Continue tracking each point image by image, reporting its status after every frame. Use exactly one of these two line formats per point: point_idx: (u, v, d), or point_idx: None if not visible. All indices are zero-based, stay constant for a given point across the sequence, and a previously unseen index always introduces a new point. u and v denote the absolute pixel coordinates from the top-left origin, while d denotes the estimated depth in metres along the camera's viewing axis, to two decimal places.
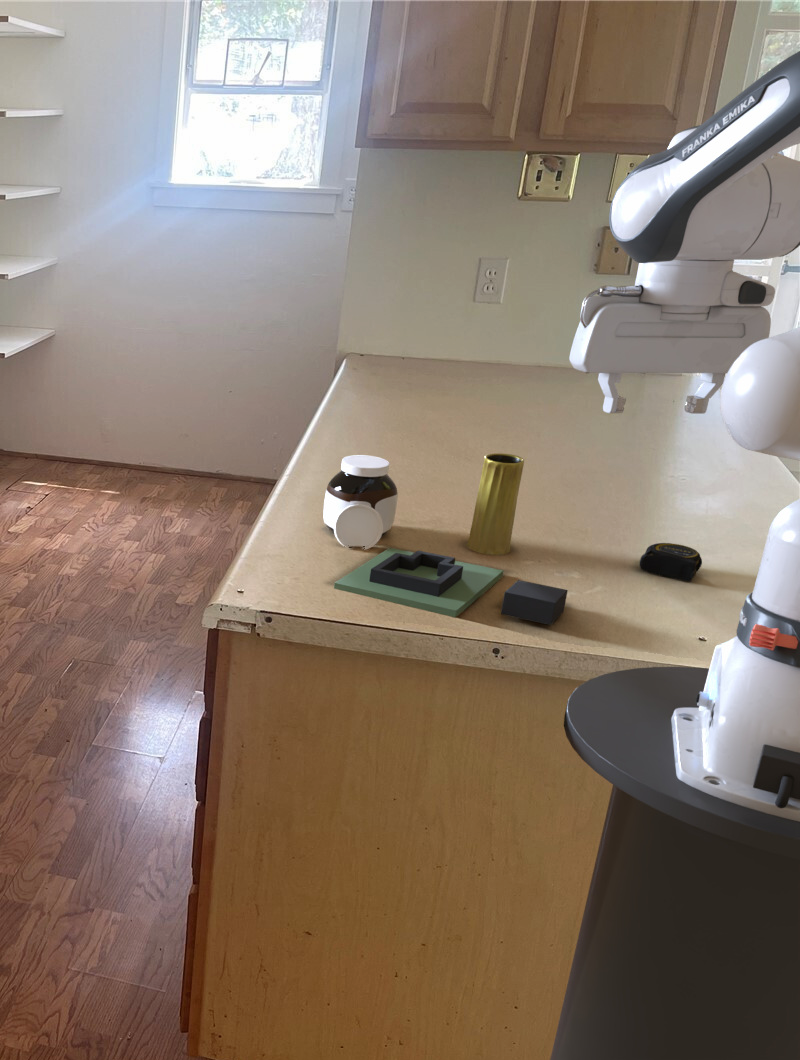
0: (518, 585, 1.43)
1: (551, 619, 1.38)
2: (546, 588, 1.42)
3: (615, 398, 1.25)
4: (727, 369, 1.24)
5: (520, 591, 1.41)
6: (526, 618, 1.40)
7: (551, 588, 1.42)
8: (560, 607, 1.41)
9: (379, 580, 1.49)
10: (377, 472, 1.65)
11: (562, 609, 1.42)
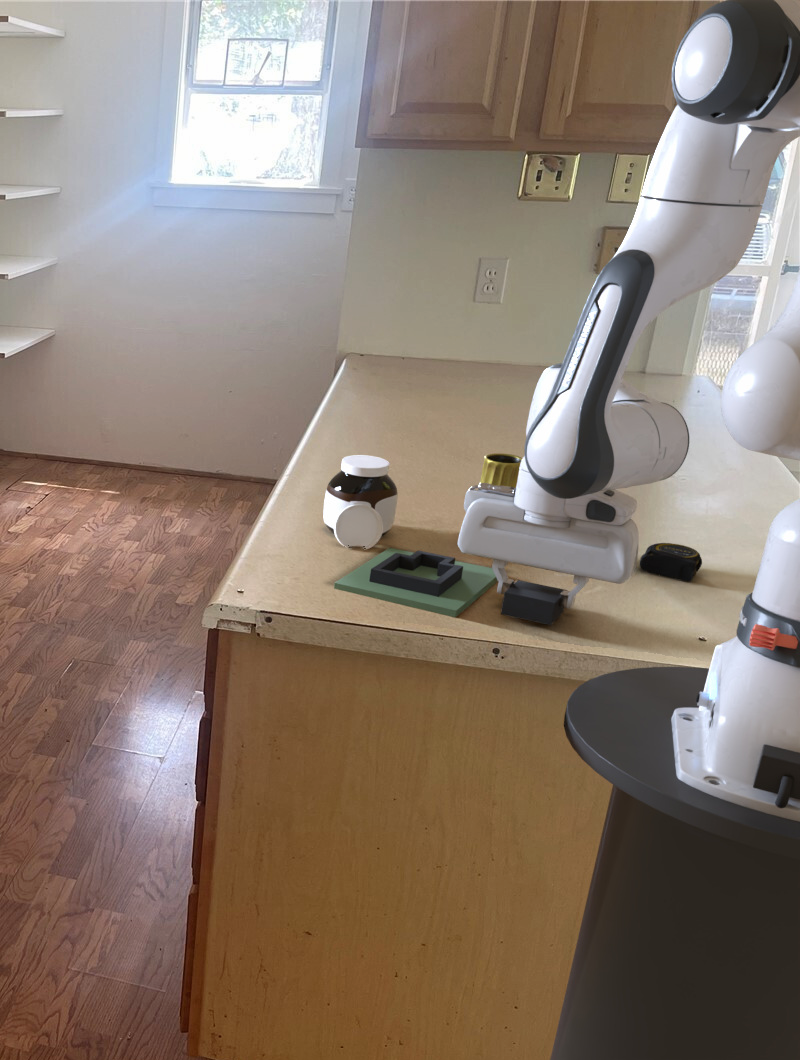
0: (518, 585, 1.43)
1: (551, 619, 1.38)
2: (546, 588, 1.42)
3: (500, 581, 1.43)
4: (592, 575, 1.35)
5: (520, 591, 1.41)
6: (526, 618, 1.40)
7: (551, 588, 1.42)
8: (560, 607, 1.41)
9: (379, 580, 1.49)
10: (377, 472, 1.65)
11: (562, 609, 1.42)
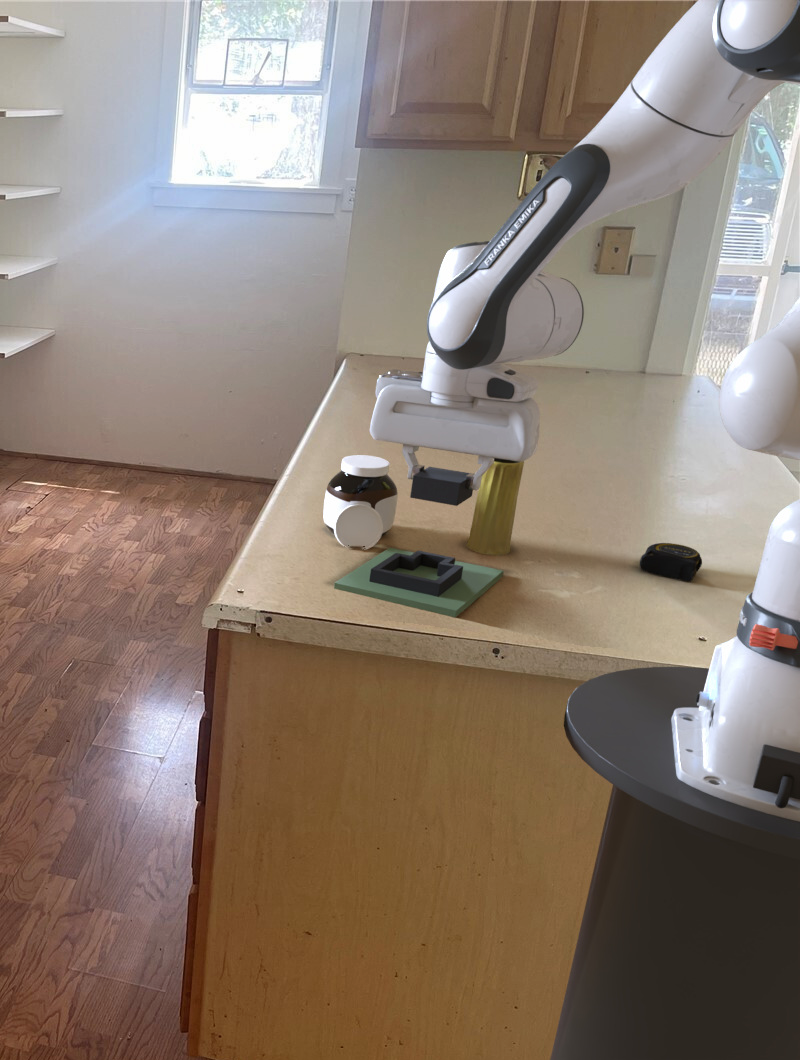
0: (428, 470, 1.47)
1: (457, 500, 1.42)
2: (455, 472, 1.46)
3: (410, 466, 1.46)
4: (494, 454, 1.38)
5: (429, 474, 1.45)
6: (434, 500, 1.43)
7: (459, 472, 1.46)
8: (467, 490, 1.44)
9: (379, 580, 1.49)
10: (377, 472, 1.65)
11: (470, 493, 1.45)
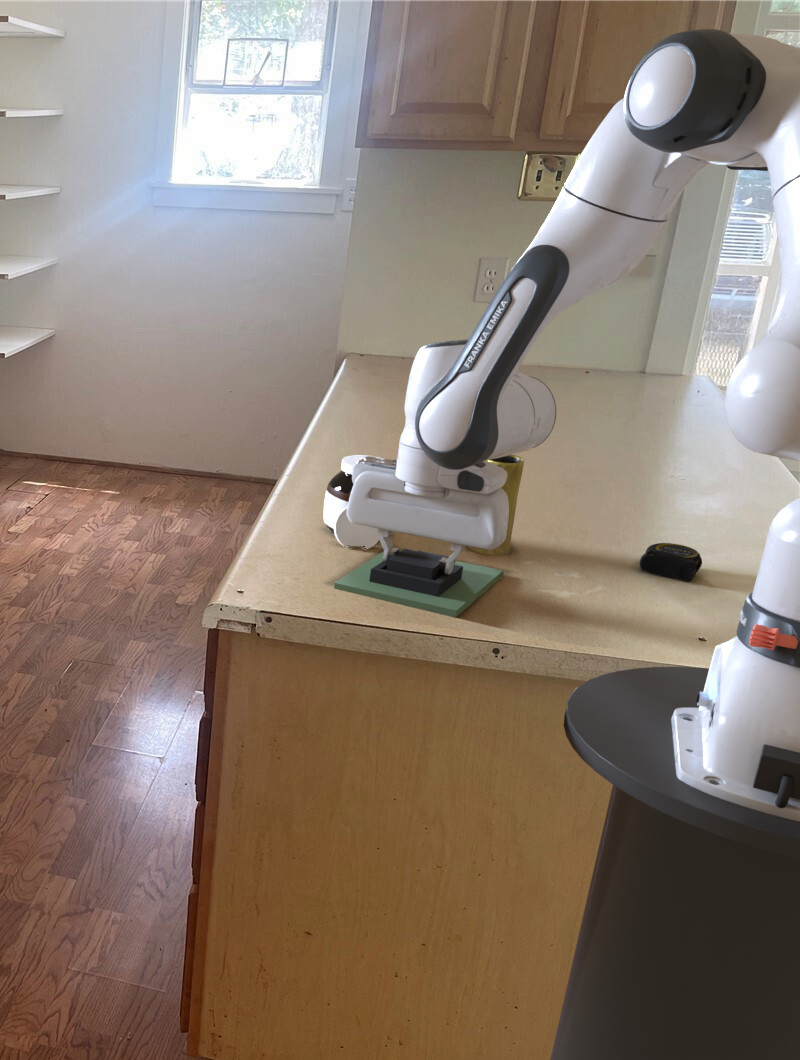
0: (403, 553, 1.52)
1: None
2: (428, 556, 1.51)
3: (385, 549, 1.51)
4: (465, 542, 1.44)
5: (403, 558, 1.50)
6: None
7: (433, 556, 1.51)
8: (440, 573, 1.49)
9: (379, 580, 1.49)
10: None
11: None
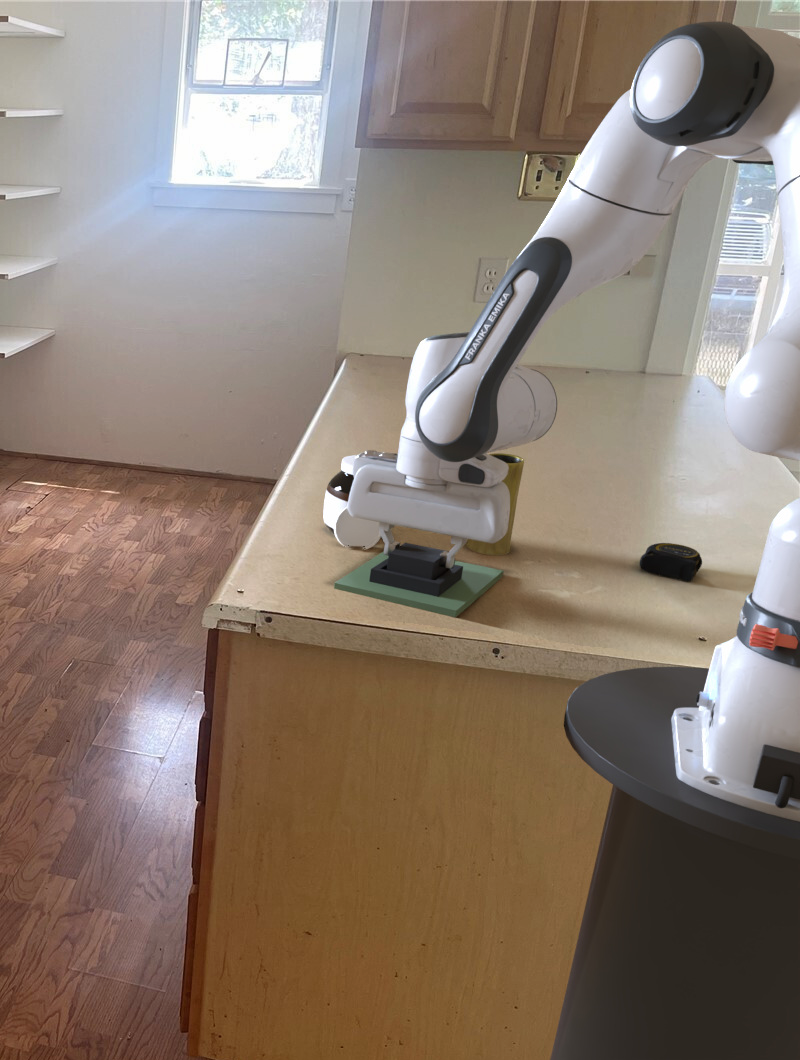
0: (403, 547, 1.51)
1: (431, 578, 1.46)
2: (429, 549, 1.50)
3: (386, 543, 1.51)
4: (467, 535, 1.43)
5: (404, 552, 1.49)
6: None
7: (434, 550, 1.50)
8: (441, 567, 1.49)
9: (379, 580, 1.49)
10: None
11: (444, 569, 1.50)
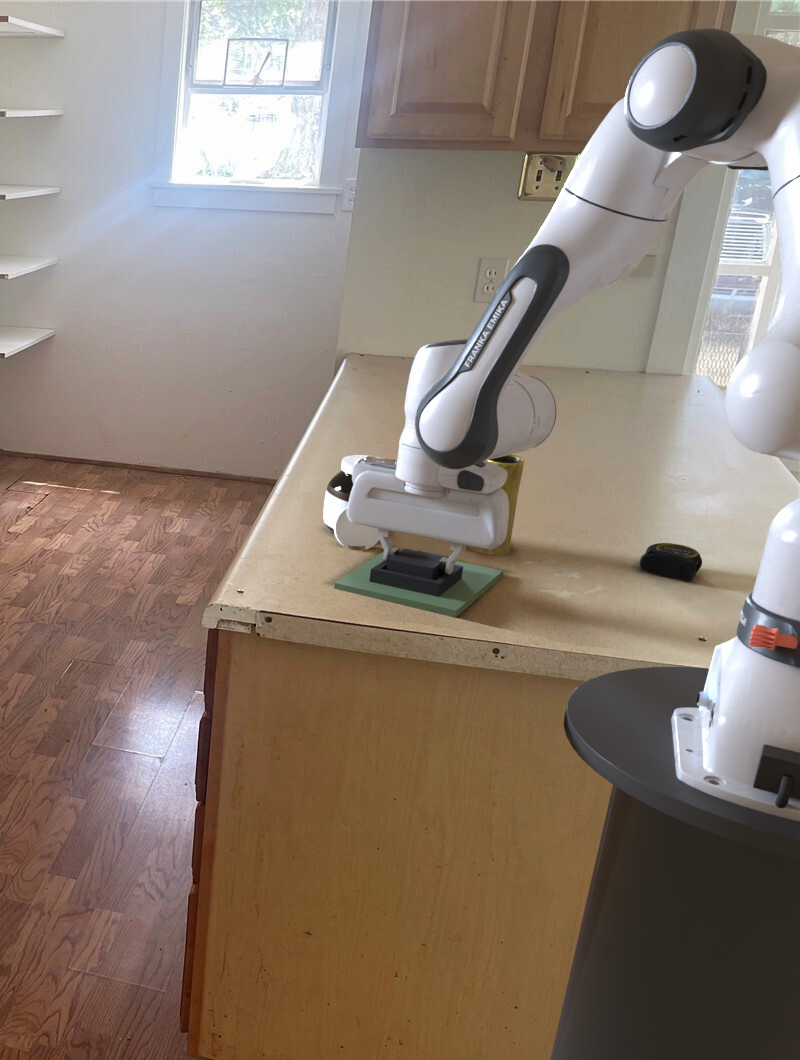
0: (403, 553, 1.52)
1: None
2: (428, 555, 1.51)
3: (385, 549, 1.51)
4: (466, 542, 1.43)
5: (403, 558, 1.50)
6: None
7: (433, 556, 1.51)
8: (440, 573, 1.49)
9: (379, 580, 1.49)
10: None
11: None
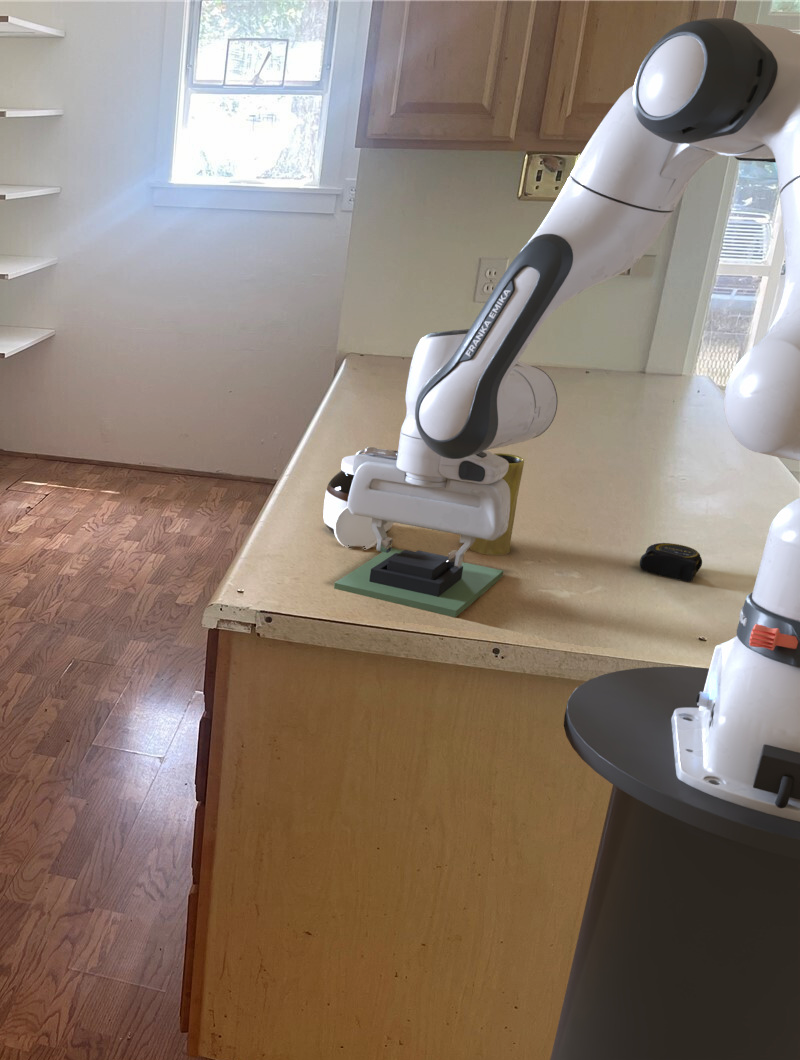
0: (403, 554, 1.51)
1: None
2: (428, 557, 1.51)
3: (379, 539, 1.51)
4: (467, 533, 1.43)
5: (403, 559, 1.49)
6: None
7: (433, 557, 1.50)
8: (440, 574, 1.49)
9: (379, 580, 1.49)
10: None
11: None
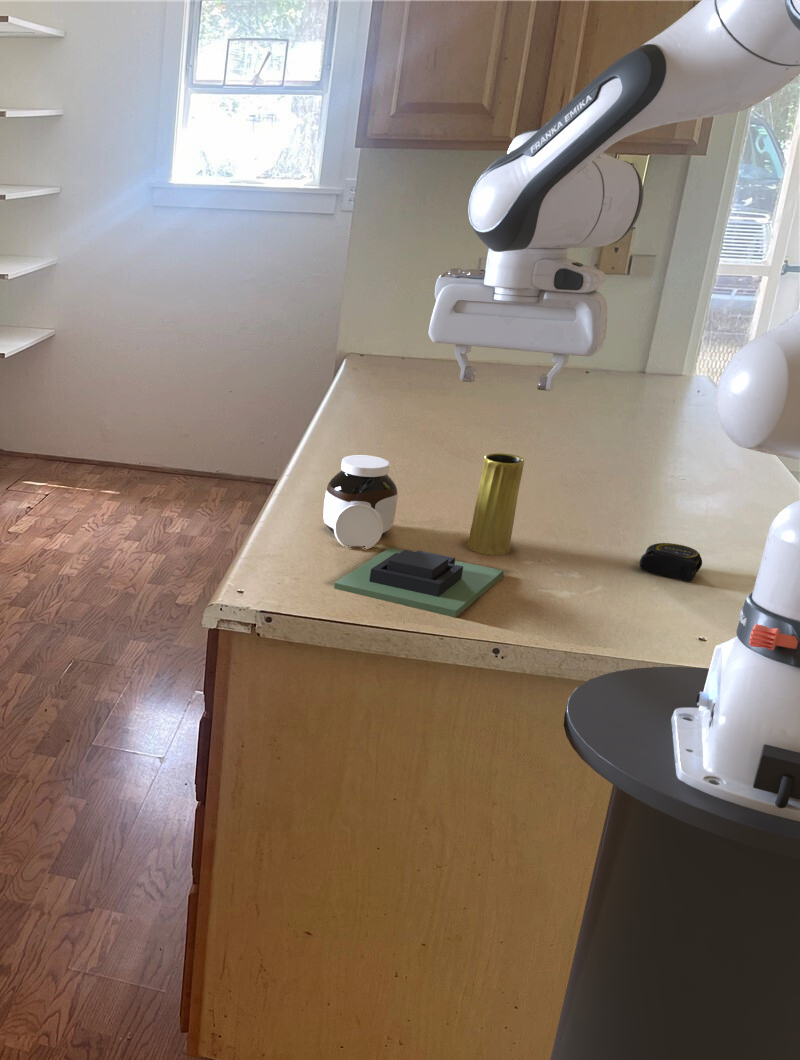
0: (403, 554, 1.51)
1: None
2: (428, 557, 1.51)
3: (462, 368, 1.44)
4: (561, 350, 1.35)
5: (403, 559, 1.49)
6: None
7: (433, 557, 1.50)
8: (440, 574, 1.49)
9: (379, 580, 1.49)
10: (377, 472, 1.65)
11: None
